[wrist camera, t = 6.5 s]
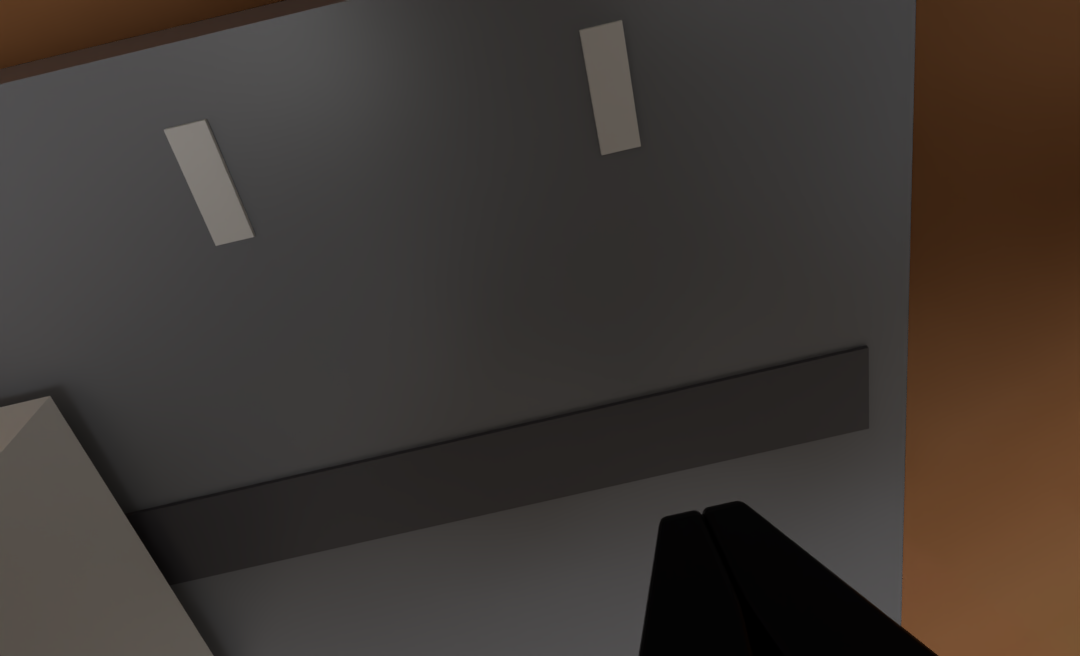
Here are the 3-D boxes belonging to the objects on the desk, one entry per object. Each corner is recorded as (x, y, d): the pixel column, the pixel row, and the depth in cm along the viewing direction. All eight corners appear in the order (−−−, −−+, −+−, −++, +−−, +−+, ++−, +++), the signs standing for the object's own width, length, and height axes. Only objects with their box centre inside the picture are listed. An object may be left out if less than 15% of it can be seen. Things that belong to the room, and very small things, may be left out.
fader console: (792, -123, 9) (922, -138, 7) (821, 532, 15) (902, 670, 12) (-593, 212, 10) (-995, 324, 7) (-83, 732, 15) (-202, 910, 12)
